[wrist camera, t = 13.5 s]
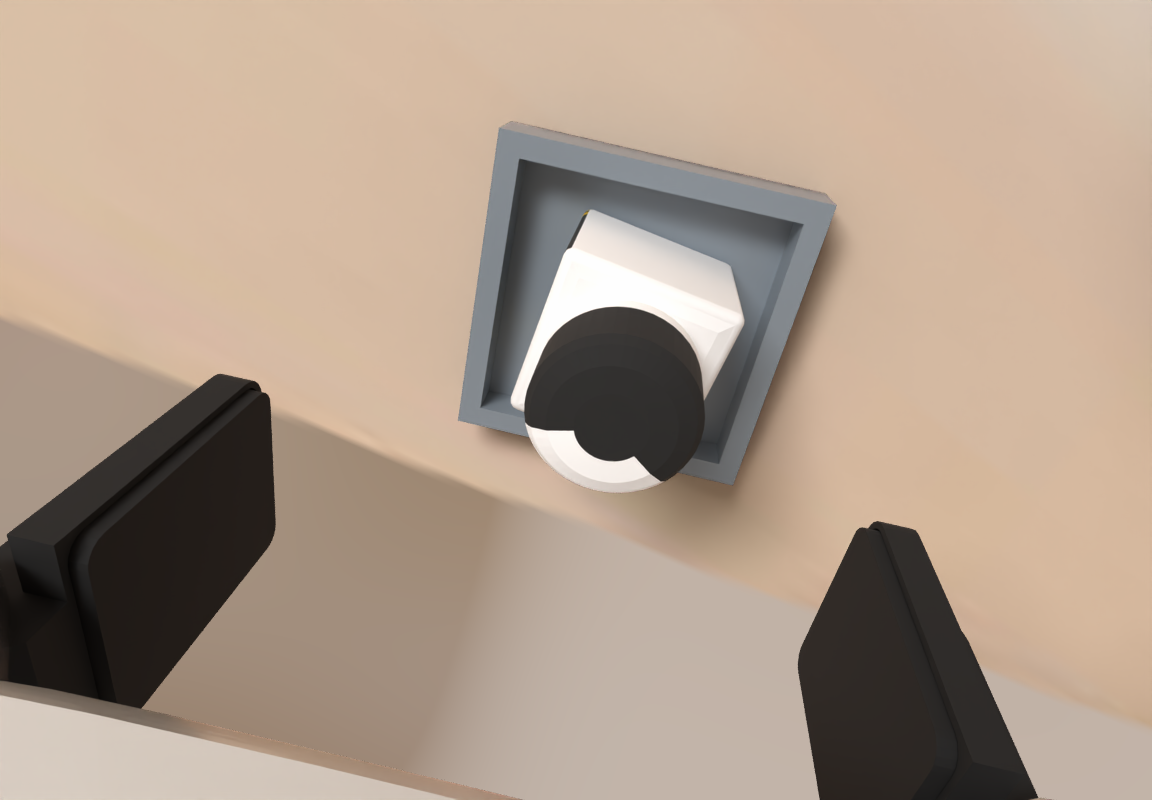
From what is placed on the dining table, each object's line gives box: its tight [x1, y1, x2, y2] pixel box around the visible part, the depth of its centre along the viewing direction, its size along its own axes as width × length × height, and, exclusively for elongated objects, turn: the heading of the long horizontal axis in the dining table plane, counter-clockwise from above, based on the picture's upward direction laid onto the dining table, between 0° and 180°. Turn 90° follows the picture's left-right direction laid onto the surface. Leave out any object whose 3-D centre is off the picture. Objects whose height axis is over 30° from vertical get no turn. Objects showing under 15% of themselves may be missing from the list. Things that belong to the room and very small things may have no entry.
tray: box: [458, 121, 837, 485], centre depth 33 cm, size 14×14×2 cm
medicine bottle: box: [511, 210, 745, 493], centre depth 28 cm, size 7×7×12 cm
